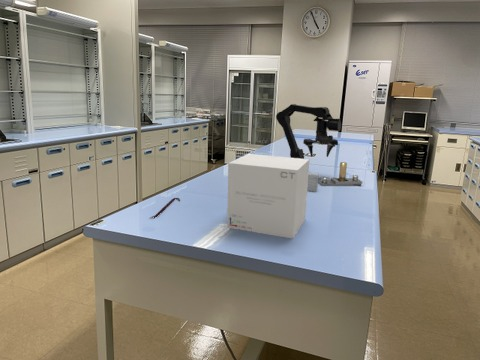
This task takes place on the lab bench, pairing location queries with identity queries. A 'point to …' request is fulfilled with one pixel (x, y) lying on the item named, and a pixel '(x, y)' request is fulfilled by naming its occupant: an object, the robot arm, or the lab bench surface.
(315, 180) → the medicine box
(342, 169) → the brass pin
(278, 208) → the cube
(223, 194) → the lab bench surface
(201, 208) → the lab bench surface
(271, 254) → the lab bench surface
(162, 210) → the crowbar
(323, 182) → the metal bracket
